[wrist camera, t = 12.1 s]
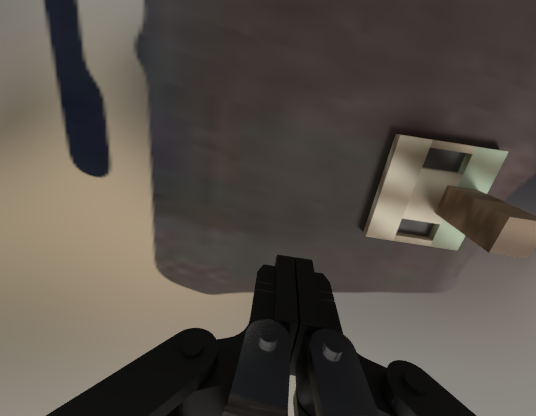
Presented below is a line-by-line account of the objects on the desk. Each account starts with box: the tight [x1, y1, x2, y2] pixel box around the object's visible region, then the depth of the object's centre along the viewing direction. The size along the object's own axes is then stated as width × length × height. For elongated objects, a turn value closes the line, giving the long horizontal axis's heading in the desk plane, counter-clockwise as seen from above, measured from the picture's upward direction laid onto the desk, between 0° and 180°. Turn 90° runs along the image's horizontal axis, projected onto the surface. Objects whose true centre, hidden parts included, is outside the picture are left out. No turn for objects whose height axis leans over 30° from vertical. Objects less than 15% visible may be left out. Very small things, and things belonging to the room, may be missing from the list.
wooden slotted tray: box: [363, 134, 508, 251], centre depth 38 cm, size 16×15×2 cm
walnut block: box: [435, 185, 536, 259], centre depth 32 cm, size 4×4×11 cm
